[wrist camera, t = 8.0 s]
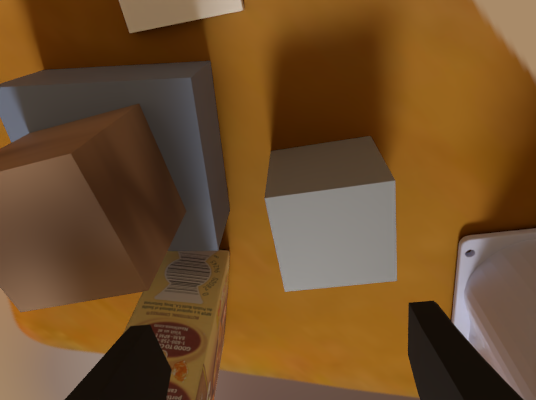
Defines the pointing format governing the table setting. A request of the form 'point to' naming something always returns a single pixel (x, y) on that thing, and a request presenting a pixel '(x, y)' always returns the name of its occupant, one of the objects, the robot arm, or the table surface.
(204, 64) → the base block
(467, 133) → the table surface
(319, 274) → the grey cube
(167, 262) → the candy box
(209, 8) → the tile
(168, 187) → the walnut cube
